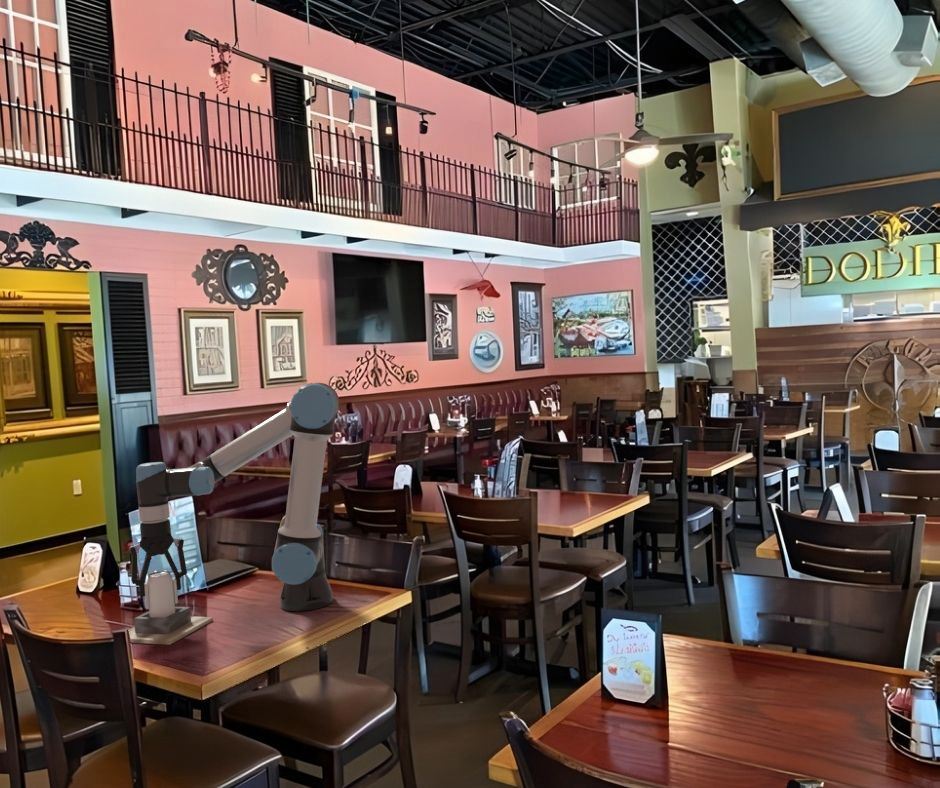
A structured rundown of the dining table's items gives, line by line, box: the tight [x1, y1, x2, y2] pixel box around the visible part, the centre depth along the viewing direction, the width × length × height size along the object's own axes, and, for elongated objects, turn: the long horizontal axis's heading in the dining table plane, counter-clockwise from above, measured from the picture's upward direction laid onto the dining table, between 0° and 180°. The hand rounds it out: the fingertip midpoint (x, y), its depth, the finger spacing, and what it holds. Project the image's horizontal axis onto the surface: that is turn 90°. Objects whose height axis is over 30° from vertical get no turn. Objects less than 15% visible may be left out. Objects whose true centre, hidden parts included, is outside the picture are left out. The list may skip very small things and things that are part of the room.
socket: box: [127, 606, 214, 645], centre depth 207 cm, size 18×18×5 cm
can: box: [146, 570, 176, 618], centre depth 207 cm, size 6×6×12 cm
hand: (161, 604), depth 207 cm, fingers closed on can, 6 cm apart
